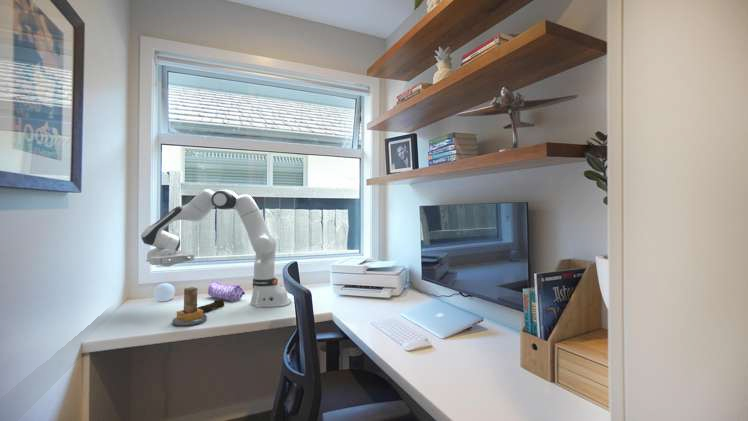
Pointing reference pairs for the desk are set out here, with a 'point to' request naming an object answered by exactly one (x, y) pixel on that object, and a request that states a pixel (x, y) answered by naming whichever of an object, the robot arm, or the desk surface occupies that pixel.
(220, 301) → the hand tool
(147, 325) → the desk surface
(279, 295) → the robot arm
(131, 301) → the desk surface
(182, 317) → the collar base
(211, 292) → the pencil case
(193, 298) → the brown wooden block
